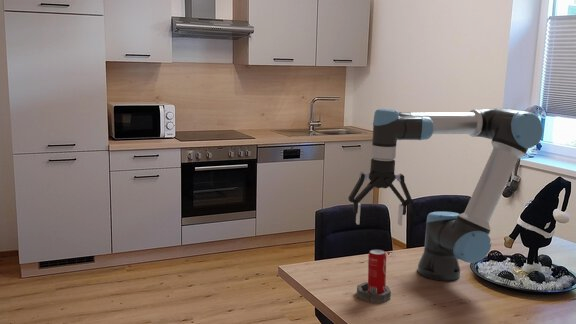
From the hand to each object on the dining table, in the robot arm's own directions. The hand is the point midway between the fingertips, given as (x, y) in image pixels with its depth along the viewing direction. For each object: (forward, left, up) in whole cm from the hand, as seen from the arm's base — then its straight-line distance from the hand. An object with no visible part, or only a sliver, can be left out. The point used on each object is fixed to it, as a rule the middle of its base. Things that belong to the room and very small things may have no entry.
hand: (378, 223), depth 180 cm
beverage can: (0, 0, -24) cm, 24 cm away
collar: (0, 0, -24) cm, 25 cm away
